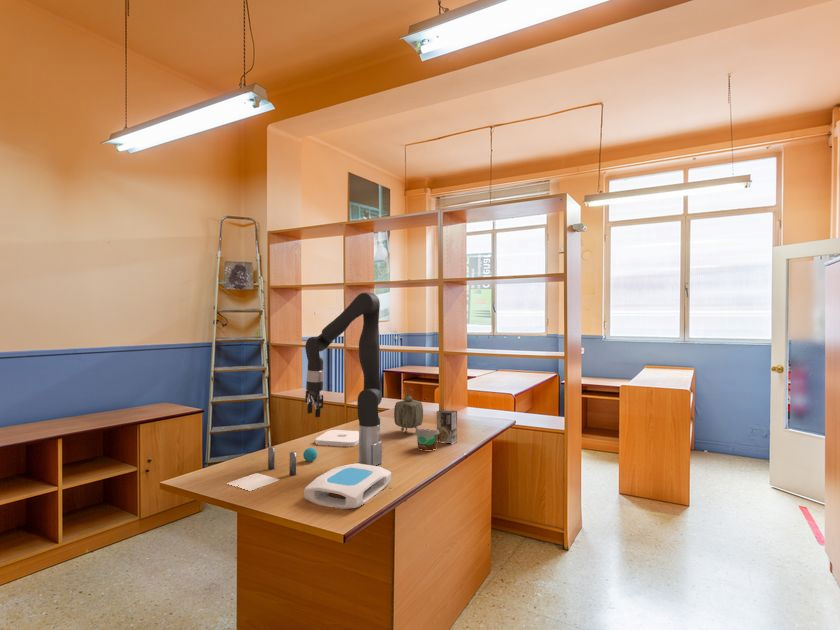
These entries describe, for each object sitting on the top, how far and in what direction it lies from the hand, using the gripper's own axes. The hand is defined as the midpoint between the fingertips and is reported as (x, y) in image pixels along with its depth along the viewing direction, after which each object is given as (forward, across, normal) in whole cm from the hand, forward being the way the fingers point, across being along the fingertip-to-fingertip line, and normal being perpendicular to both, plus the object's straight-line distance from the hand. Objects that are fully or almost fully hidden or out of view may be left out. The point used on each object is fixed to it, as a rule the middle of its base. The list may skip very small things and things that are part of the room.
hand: (313, 415), depth 207 cm
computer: (+20, +17, -24) cm, 36 cm away
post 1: (+20, -5, +20) cm, 29 cm away
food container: (+18, -23, -49) cm, 57 cm away
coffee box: (+18, -18, -66) cm, 71 cm away
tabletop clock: (+19, +8, -61) cm, 64 cm away
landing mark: (+19, -16, +31) cm, 40 cm away
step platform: (+18, -47, +6) cm, 51 cm away
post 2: (+19, -17, +16) cm, 30 cm away
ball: (+16, -5, +3) cm, 17 cm away
